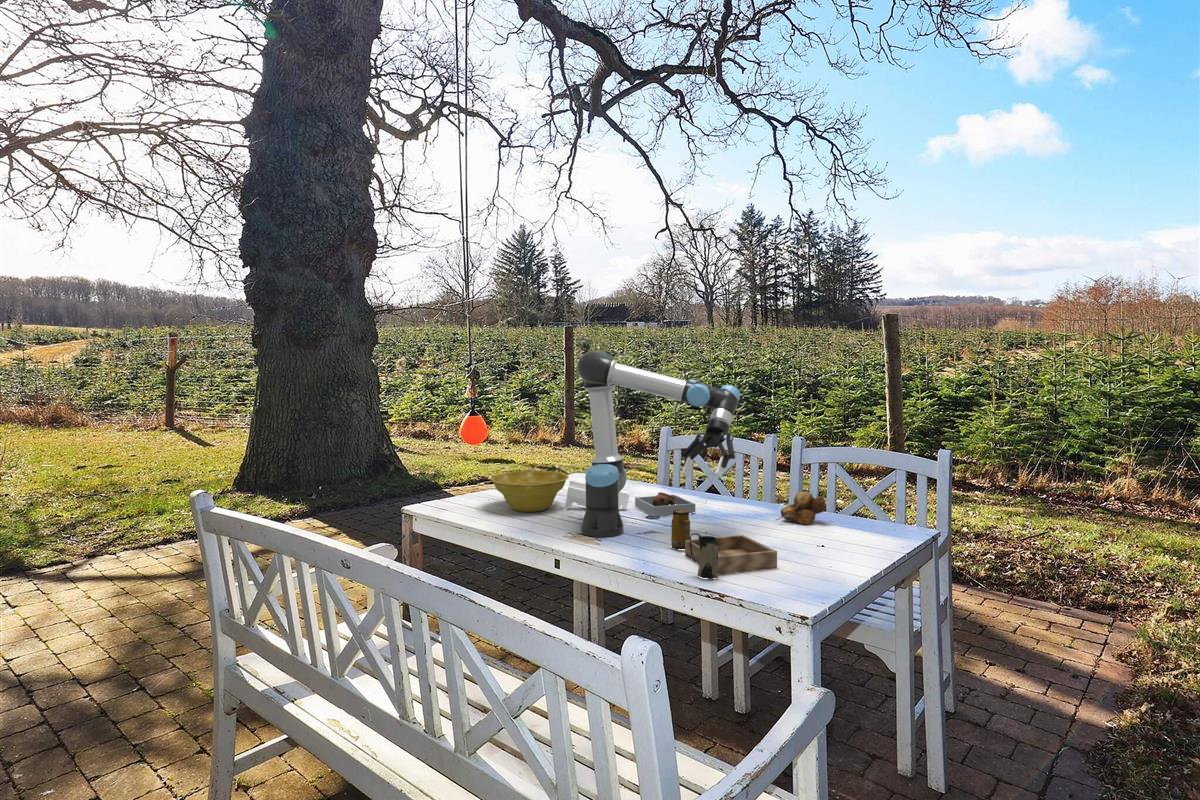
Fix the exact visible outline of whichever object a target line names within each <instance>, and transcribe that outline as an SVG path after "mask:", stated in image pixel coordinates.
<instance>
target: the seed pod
mask: <svg viewBox="0 0 1200 800" xmlns="http://www.w3.org/2000/svg"><path fill="white" fill-rule="evenodd" d="M826 508H827V506H826V500H825V498H824V497H823V496H820V495H819V496H818V495H817V496H816V497H814V495H813V494H812V493H811V492H810V491H799V492H797V494H795V495H794V498H793V503H792V504H789V505H786V506H784V507H781V510H780V515H781V516H780V517H778V518H775V521H779V520H781V519H784V520H787V521H789V522H794V521H796V522H798V523H799V525H811V524H812V523H814V522H815V520H816V515H818V514H821V513H823V512H824V511H825V509H826Z"/></svg>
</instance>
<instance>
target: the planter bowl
mask: <svg viewBox="0 0 1200 800" xmlns="http://www.w3.org/2000/svg"><path fill="white" fill-rule="evenodd" d="M568 479H570V476H569V475H568V474H566V473H564V472H559V471H554V470H553V471H552V470H540V469H539V470H537V469H536V470H519V471H508V472H502V473H498V474H495V475H493V476H490V481H491V482H493V485H494V487H495V489H496V490H497V491H498V492H499V493H500V494H502V495H503V498H504V499H505V502H506V503H507V505H508V506H509V507H510V508H512V509H513V510H514V511H518V512H523V513H528V512H529V513H532V512H539V511H545V510H546V509H548V508H549V507H550V506H551V505H552V504H553V502H554V500H555V499H556V496H557V495H558V493H559V492H560V491H561V490H563V488H564V487H565V485H566V481H567V480H568Z"/></svg>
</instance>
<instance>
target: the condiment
mask: <svg viewBox="0 0 1200 800" xmlns="http://www.w3.org/2000/svg"><path fill="white" fill-rule="evenodd" d="M690 536H691V519H690V514H689V511H687V510H674V511H673V516H672V518H671V539H670V540H671V543H670V544H667V545H668V546H669V545H670V546H672V548H673V549H672V548H670V549H672V550H675V551H676V552H680V553H681V552H683V553H684V551H682V550H676V549H685V540H690ZM670 546H669V547H670ZM669 547H668V548H669ZM674 548H675V549H674Z"/></svg>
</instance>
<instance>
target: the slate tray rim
mask: <svg viewBox="0 0 1200 800" xmlns="http://www.w3.org/2000/svg"><path fill="white" fill-rule="evenodd" d="M669 495H670V496H672V497H673V498H675V500H674V503H675V504H676V505H667V506H653V505H652V502H653V500H654V499H653V498H654V497H655V496H656V495H649V496H639V497H638V496H637V497H636V496H635V497H634V507H635V506H636V507H638V508H639V509H638V508H637V509H638V510H640V509H641V510H643V511H645V512H647V513H648V514H647V513H646V514H647V515H649V514H650V515H652V516H663V517H665V516H664V515H673V511H674V510H687V511H689V513H693V512H695V513H696V503H694V502H693V501H690V500H688V499H686V498H684V497H681V496H679V495H676V494H669ZM636 507H635V508H636ZM641 510H640V511H641ZM643 511H642V512H643ZM645 512H644V513H645ZM650 515H649V516H650ZM652 516H651V517H652Z"/></svg>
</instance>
